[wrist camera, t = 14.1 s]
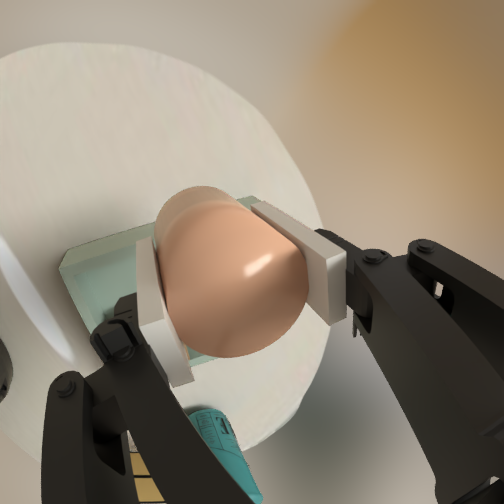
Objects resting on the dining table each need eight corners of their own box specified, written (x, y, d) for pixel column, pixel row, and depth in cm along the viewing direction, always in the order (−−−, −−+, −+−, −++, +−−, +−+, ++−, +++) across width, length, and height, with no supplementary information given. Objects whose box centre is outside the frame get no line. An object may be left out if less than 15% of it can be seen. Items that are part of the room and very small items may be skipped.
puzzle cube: (154, 474, 41) (165, 518, 33) (102, 473, 37) (108, 518, 28) (156, 451, 38) (168, 502, 30) (96, 449, 34) (101, 501, 25)
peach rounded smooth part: (169, 285, 16) (193, 374, 10) (142, 202, 14) (145, 259, 8) (251, 258, 18) (312, 328, 12) (235, 175, 15) (303, 210, 9)
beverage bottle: (172, 422, 36) (211, 546, 19) (193, 395, 35) (244, 531, 18) (210, 428, 39) (256, 539, 22) (232, 402, 38) (291, 522, 21)
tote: (121, 360, 29) (122, 385, 26) (68, 249, 23) (58, 268, 20) (270, 313, 34) (285, 334, 31) (252, 195, 28) (270, 206, 24)
